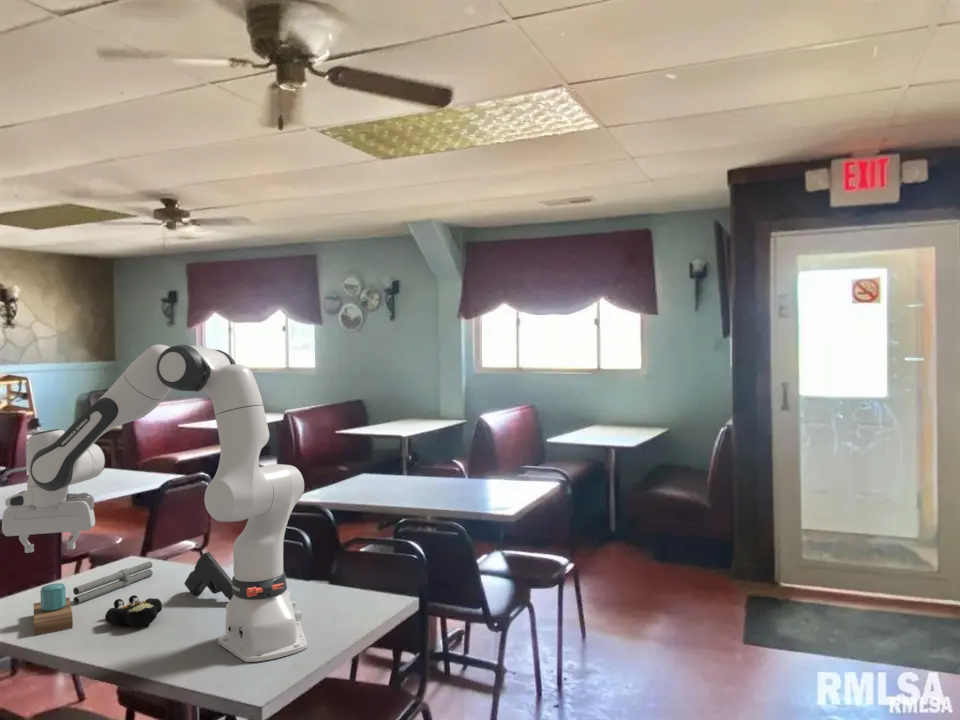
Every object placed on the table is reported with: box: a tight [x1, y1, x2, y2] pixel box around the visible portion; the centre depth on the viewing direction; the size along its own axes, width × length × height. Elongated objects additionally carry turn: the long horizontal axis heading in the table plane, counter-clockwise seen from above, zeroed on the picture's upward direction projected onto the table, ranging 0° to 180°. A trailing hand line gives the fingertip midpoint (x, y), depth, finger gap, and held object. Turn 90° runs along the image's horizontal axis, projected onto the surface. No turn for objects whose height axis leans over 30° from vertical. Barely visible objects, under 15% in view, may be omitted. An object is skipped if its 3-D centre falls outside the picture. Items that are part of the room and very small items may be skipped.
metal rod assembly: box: [72, 560, 154, 605], centre depth 207 cm, size 26×3×5 cm, turn 159°
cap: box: [40, 582, 67, 611], centre depth 184 cm, size 5×5×5 cm
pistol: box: [184, 551, 233, 601], centre depth 198 cm, size 18×4×13 cm
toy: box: [104, 594, 163, 628], centre depth 182 cm, size 12×8×15 cm
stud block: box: [33, 597, 74, 636], centre depth 183 cm, size 16×8×8 cm, turn 32°
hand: (50, 550), depth 182 cm, fingers open, 8 cm apart
